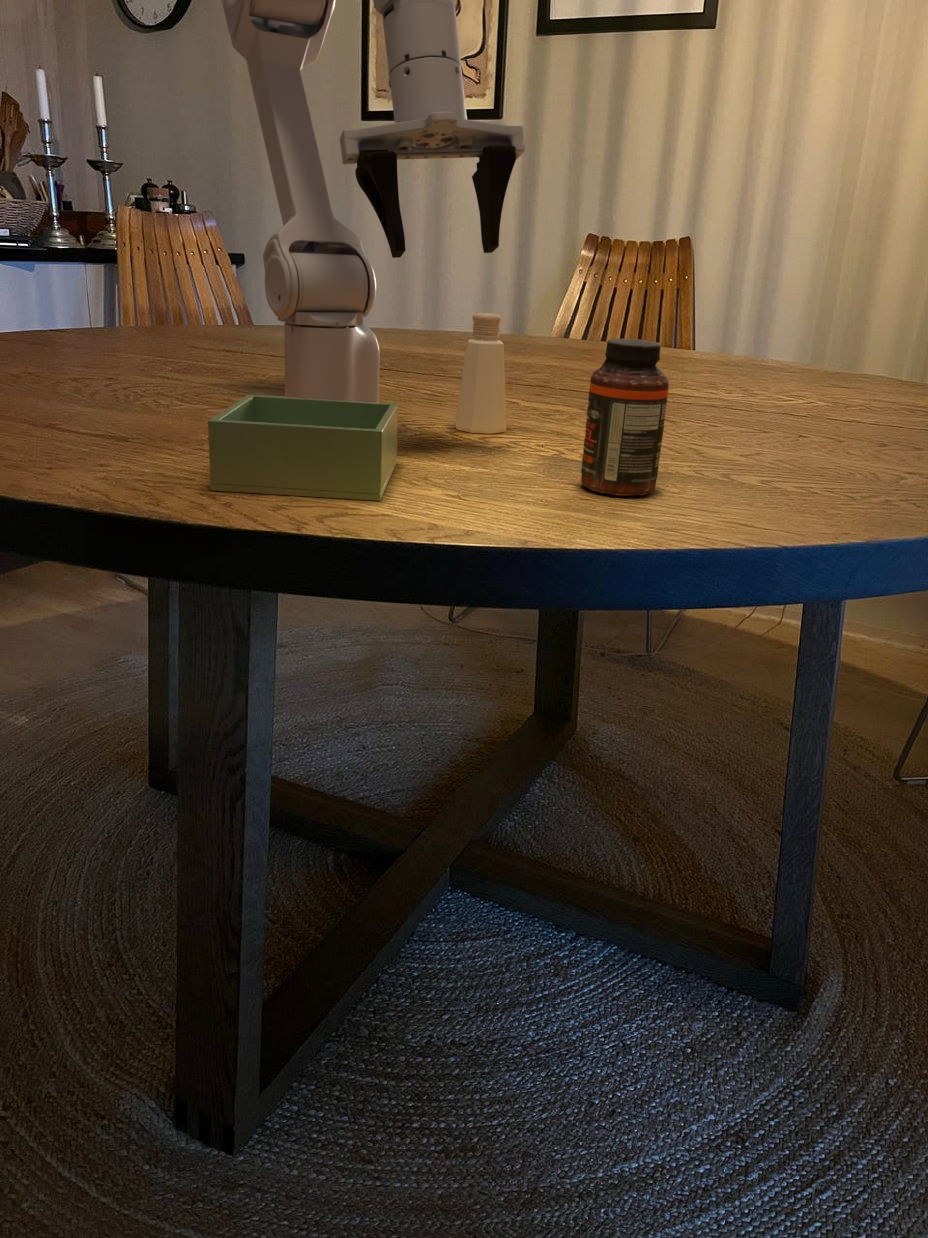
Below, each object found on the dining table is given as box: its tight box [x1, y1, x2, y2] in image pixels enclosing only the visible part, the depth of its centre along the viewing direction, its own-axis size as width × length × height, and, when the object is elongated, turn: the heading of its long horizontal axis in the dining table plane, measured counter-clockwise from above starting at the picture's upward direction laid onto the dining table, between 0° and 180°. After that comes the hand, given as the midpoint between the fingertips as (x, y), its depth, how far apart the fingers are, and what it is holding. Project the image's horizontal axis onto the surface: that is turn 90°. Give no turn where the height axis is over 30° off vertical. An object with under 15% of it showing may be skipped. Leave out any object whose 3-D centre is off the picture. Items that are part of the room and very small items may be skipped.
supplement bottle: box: [580, 338, 670, 497], centre depth 77 cm, size 6×6×11 cm
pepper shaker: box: [454, 312, 507, 435], centre depth 98 cm, size 5×5×11 cm
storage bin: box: [207, 394, 399, 502], centre depth 76 cm, size 12×12×5 cm
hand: (445, 251), depth 80 cm, fingers open, 7 cm apart
